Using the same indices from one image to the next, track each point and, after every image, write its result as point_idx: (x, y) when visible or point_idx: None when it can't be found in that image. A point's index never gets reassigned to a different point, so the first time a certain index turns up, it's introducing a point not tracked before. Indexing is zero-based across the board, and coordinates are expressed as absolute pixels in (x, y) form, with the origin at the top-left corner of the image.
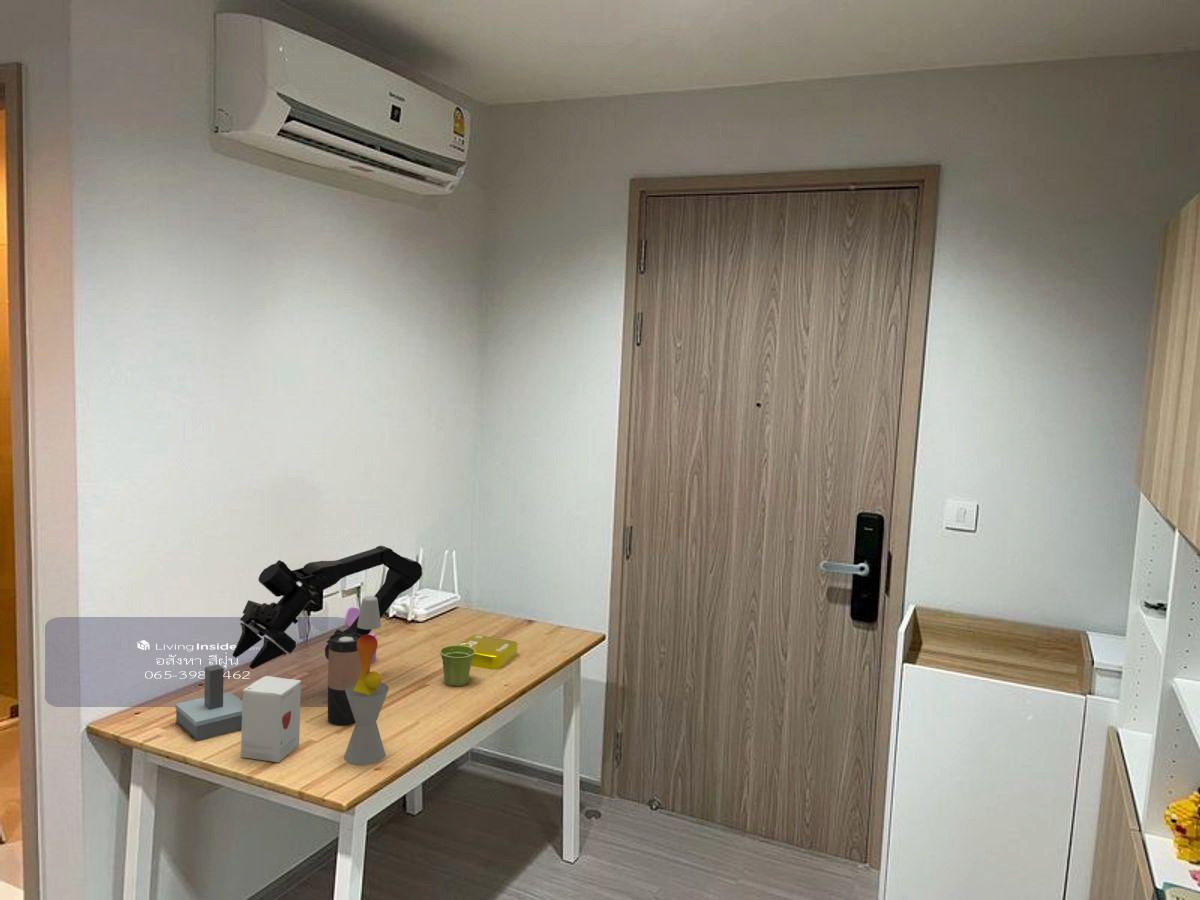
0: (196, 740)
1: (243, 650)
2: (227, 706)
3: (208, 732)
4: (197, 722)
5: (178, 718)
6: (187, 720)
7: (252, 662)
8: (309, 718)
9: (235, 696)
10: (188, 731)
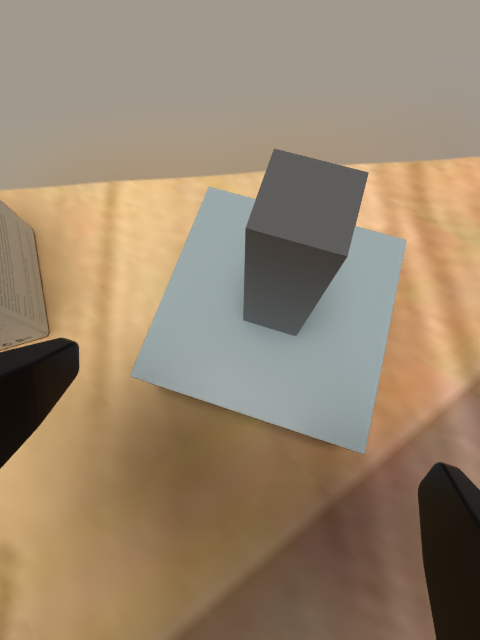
0: None
1: (445, 607)
2: (230, 331)
3: None
4: (207, 192)
5: None
6: None
7: (25, 349)
8: (17, 585)
9: (294, 427)
10: None
